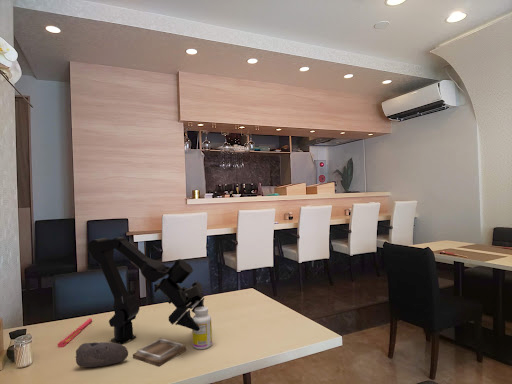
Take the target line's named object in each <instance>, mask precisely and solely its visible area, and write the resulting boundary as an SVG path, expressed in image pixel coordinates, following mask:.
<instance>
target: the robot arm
mask: <svg viewBox="0 0 512 384" xmlns="http://www.w3.org/2000/svg"><path fill="white" fill-rule="evenodd" d="M115 250H117V251H118V252H119V253H120V254H122V256H124V257H125V258H126V259H128V260H129V261H130V262H132V263H133V265H134V266H136V267H137V268H138V269H139V271H140V274H141V275H142V276H143V278H144V279H146V281H147V282H148V283H155V284H154V289H153V292H154V293H157V292H159V291H161V293H163V295H164V296H165V297H166V298H167V299H168V301H167V303H168V304H169V305H170V304H172V305H173V306H174V307H175V309H174V310H173V311H172V312H171V313H170V315H169V316H168V322H169V323H170V324H171V325H174V324H175V326H177V325H178V326H181V327H184V328H187V329H190V330H195V331H199V329H200V328H199V327H198V325H197V324H196V323H195V321H194V320H193V319H192V318H193V317H192V316H191V313H194V312H195V308H197V307H205V305H204V303H205V302H204V301H205V295H204V293H203V292H204V290H203V286H204V285H203V284H201V282H199V281H197V280H196V281H195V282H194V281H193V283H191V286H190V287H189V288H187V287H186V286H183V287H181V285H179V284H183V283H184V282H185V281H186V279H187V278H188V277H189V276H190V275H191V274H192V273H193V271H194V269H193V267H192V266H191V264H189V263H188V262H186V261H183V260H182V259H181V258H178V259H177V260H176V261H174V263H173V265H172V266H171V267H170V266H166V265H165V264H164V263H162V262H160V261H158V260H156V259H153V258H150V257H148V256H147V255H146V254H145V253H143V252H142V251H141V250H140V249H139V248H137V247H136V246H135V245H133V244H132V243H131V242H130V241H128V239H127V238H126V237H124V236H119V237H115V238H113V239H111V238H108V237H102V238H97V239H93V240H90V241H89V243H88V246H87V251H88V254H89V255H90V256H91V258H92V259H93V260H94V261H96V262H97V263H98V264H99V266H100V268H101V271H102V274H103V275H104V278H105V280H106V282H107V285H108V287H109V289H110V292H111V295H112V297H113V301H114V302H113V311H114V314H113V316H111V318H110V319H109V320H108V324H109V326H110V327H112V328H113V329H114V330H113V334H114V335H113V336H114V337H113V338H111V339H110V341H111V342H112V343H117V344H121V345H123V344H126V343H127V342H130V341H131V340H134V339H136V338H137V336H136V335H135V334H134V329H133V328H134V327H133V322H132V321H134V320H136V316H137V315H138V313H139V311H140V304H141V303H140V302H139V301H138V297H137V295H136V294H133V295H131V293H129V292H128V290H127V288H126V285H125V283H124V281H123V278H122V276H121V274H120V271H119V270H118V266H117V264H116V262H115V260H114V252H115ZM165 277H166V278H165ZM158 281H159V283H157V282H158Z"/></svg>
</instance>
